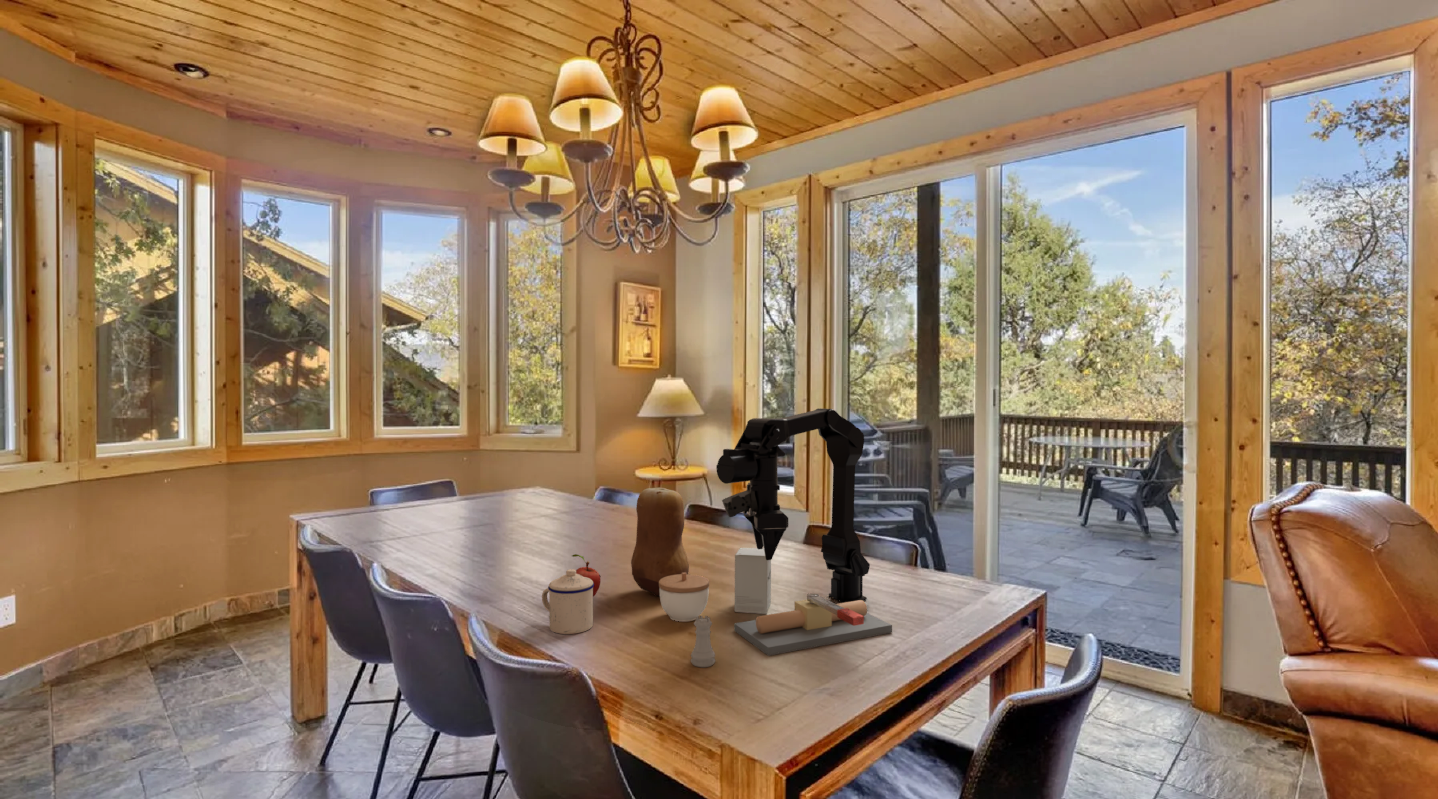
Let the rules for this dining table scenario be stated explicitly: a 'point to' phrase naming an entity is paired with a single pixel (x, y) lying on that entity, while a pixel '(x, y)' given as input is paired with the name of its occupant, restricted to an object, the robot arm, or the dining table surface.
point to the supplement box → (752, 581)
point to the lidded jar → (684, 596)
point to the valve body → (808, 628)
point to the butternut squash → (658, 538)
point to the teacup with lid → (570, 603)
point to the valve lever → (836, 609)
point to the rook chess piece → (703, 644)
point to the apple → (589, 575)
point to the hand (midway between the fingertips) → (764, 554)
